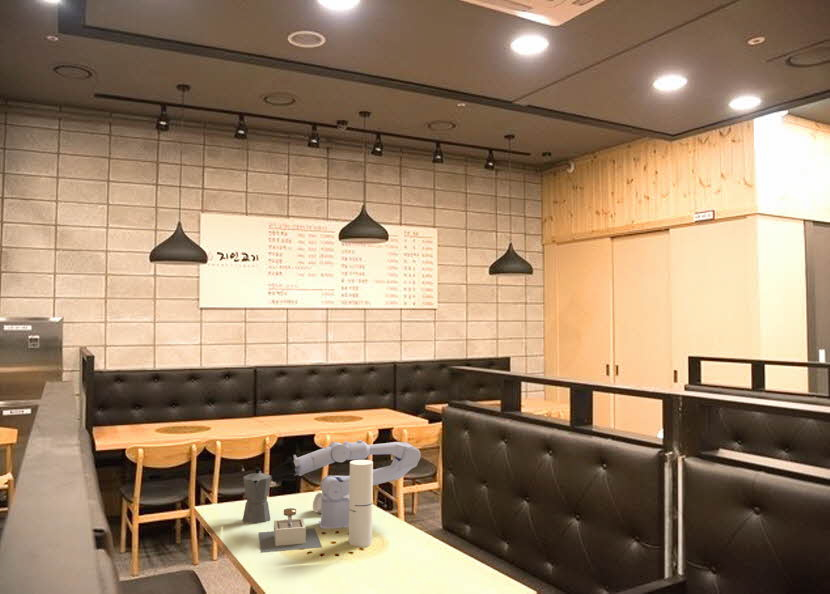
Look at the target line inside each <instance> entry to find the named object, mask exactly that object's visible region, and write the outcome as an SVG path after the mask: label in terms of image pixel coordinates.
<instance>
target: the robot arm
mask: <svg viewBox="0 0 830 594" xmlns="http://www.w3.org/2000/svg"><path fill="white" fill-rule="evenodd" d="M421 454H422V453H421V451H420V450H419V448H418V447H416V446H413V445H411V444H410V443H409V442H406V441H403V442H401V441H393V442H386V443H375V444H368V443H367V442H366V441H362V439H357V440H356V441H351V442H348V441H343V443H341V442H338V441H336V442H334V441H333V442H331V443H329V445H328V446H326V447H324V448H320V449H317V450H315V451H312V452H309V453H307V454H304V455H301V456H299V457H298V456H297V455H296V454H293V458H292V457H291V456H290V457H288V458H287V459H286V460H285V461H284V462H283V463H281V464H280V465H278V466H277V467H275V468H273V469H272V470H271V475H270V476H271V481H272V482H274V483H277V482H281V481H292V482H293V481H296V476H300V477H301V476H304V475H305V474H307V473H310V472H313V471H316V470H318V469H321V468H323V467H326V466H328V465H331V464H334V463H335V462H337V463H344V462H345V461H353V460H366V459H367V457H369V455H392V456H393V460H392V462H391V464H390V465H387V466H383V467H379V468H375V469H374V468H373V486H377V485H380V484H384V483H387V482H393V481H396V480H400V479H402V478H403V477H404V476H405V475H406V474H408V473H409V472H410V471H411V470H412V469H414V468H416V467H418V465H419V464H418V463H419V462H420V460H421V456H422V455H421ZM319 486H320V489H321V492H322V491H323V492H324V493H323V496H322V497H321V512H320V513H321V514H320V520H318V524H319V526H320V528H321V529H322V530H323V529H324V530H325V529H336V528H349V498H343V496H346V495H349V486H350V475H327V476H324V477H323V478H322V480H321V482H320V485H319Z"/></svg>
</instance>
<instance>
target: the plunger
mask: <svg viewBox="0 0 830 594" xmlns="http://www.w3.org/2000/svg"><path fill="white" fill-rule="evenodd" d="M295 515H297V509H296V508H291V507H289V508H285V509H283V516H286V517H287V520H288V522H279V523H278V524H279V529H282V528H295V527H301V526H300V522H299V521H293V522H292V519H293V517H294V516H295Z"/></svg>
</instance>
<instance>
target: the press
mask: <svg viewBox="0 0 830 594" xmlns="http://www.w3.org/2000/svg"><path fill="white" fill-rule="evenodd" d="M293 521H299V522H300V526H301V527H295V528H282V529H279V524H278V523H279V522H288V519H279V520H278V519H277V520H273V531H274V540H275V546H280V545H292V544H304V543H306V529H307V527H306V524H305V521H304V518H292V522H293Z"/></svg>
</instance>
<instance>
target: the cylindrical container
mask: <svg viewBox="0 0 830 594" xmlns="http://www.w3.org/2000/svg"><path fill="white" fill-rule="evenodd" d="M373 470H374V461H372V460H370V459H369V460H368V459H354V460H350V461H349V476H350V486H349V527H348V544H350V545H351V546H355V547H359V548H360V547H364V548H367V547H366V546H368V547H370V546H372V543H373V492H374V491H373V488H374V487H373V486H374V485H373ZM369 545H370V546H369Z"/></svg>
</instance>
